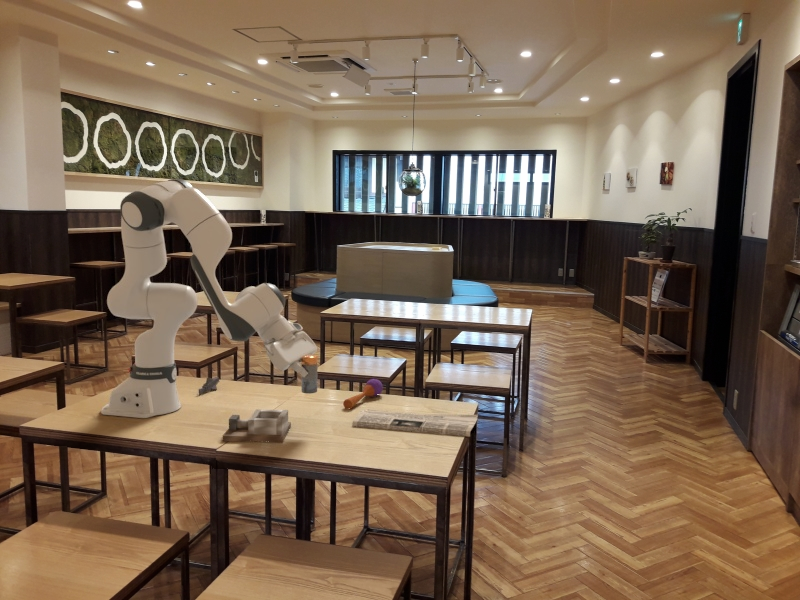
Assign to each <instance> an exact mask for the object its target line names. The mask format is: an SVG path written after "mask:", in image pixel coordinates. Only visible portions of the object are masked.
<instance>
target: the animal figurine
mask: <svg viewBox="0 0 800 600" xmlns="http://www.w3.org/2000/svg"><path fill="white" fill-rule="evenodd" d="M219 383H220V377H218V376H215V377H213V378H211V377H206V381H205V383H203V385H202V386H201V388H198V396H202V395H204V394H205V393H208V392H210V391H218V387H217V385H218V384H219ZM201 394H202V395H201Z"/></svg>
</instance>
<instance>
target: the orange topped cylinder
mask: <svg viewBox="0 0 800 600" xmlns="http://www.w3.org/2000/svg"><path fill="white" fill-rule="evenodd" d="M301 366H302V367H303V368H306V369H307V370H308V371H309V374H308V375H307V376H306V377H302V376H301V393H304V394H307V395H310V394H316V393H317V392H318V369H317V367H318V355H316V354H313V355H305V356H303V357H302V361H301Z"/></svg>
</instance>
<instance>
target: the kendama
mask: <svg viewBox="0 0 800 600" xmlns="http://www.w3.org/2000/svg"><path fill="white" fill-rule="evenodd" d="M383 388H384V385H383V383H382V381H380V380H379V379H376V378H371V379H369V380H368V381H367V382H366V383H365V386H364V387H363V390H362V392H361V393H359V394H356V395H353V396H352V397H348V398H347V399H344V401H343V402H342V403H343V407H344V409H346V408H350V409H349V410H352V409H353V408H354V407H355V405H357V404H358V403H359V402H360V401H361V400H362V399H363V398H364V397H370V398H372V397H373V398H374V396H375V397H378V396H379V395H377V394H380V395H381V394H382V392H383Z"/></svg>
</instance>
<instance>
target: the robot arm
mask: <svg viewBox="0 0 800 600" xmlns="http://www.w3.org/2000/svg"><path fill="white" fill-rule="evenodd" d="M119 209H120V210H119V211H120V215H121V219H120V222H121V223H120V224H121V225H120V226H121V231H120V232H121V239H122V245H123V252H124V260H125V262H124V263H125V268H124V273H123V276H122V277H121V279H120V280H119V282H117V283H116V284H115V285H113V286H112V287H111V289H110V290H109V292H108V294H107V299H106V304H107V307H108V308H107V309H109V311H110V313H111V314H112V315H113V316H115V317H118V318H124V319H127V320H128V319H129V320H152V321H153V327H152V328H151V329H148V330H146V331H144V332H142V333H140V334H139V335H138V336H137V337H136V338H135V342H134V359H135V360H134V361H135V362H134V363H133V364H132V365H131V366H130V367H129V368H127V369H126V370H127V373H129V377H127V378H126V379H125V380H124V381H122V382H121V383H120V384H118V385H116V387H115V388H114V389H112V391H111V393H110V396H109V402H108V403H107V404H105V405H103V406H102V408H101V410H100V414H101V415H104V416H105V415H106V416H118V417H126V418H127V417H128V418H139V419H149V418H152V417H154V416H155V417H156V416H160V415H165V414H170V413H172V412H176V411H178V410H179V409H181V407H182V404H181V401H180V399H179V398H180V397H179V394H178V389H177V384H176V382H177V366H176V365H177V364H176V361H175V342H176V336H177V333H178V330H179V329H180V328H181V326H182V324H184V322H186V321H187V319H189V318H191V317H192V316H193V315H194V314H195V312H196V310H197V308H198V295H197V293H196V291H195V290H194V289H193V287H192V286H189V285H185V284H181V283H175V282H172V283H171V282H152V281H151V277H153V276H156V275H158V274H159V273H161V272H162V271H163V270H164V269H165V268H166V267H167V266H166V265H167V263H168V257H167V256H168V255H167V250H166V243H165V236H164V230H163V226H165V225H169V224H171V223H173V224H175V225H176V226H177V227H178V228H179V229H180V230H181V232H182V233H183V235H184V236H185V238H186V239H187V240H188V242H189V243H190V245H191V250H192V254H191V257H190V259H189V260H190V264H191V268H192V270H193V273H194V275H195V277H196V279H197V281H198V283H199V286H200V287H201V289H202V291H203V293H204V295H205V297H206V299H207V301H208V302H209V305H210V306H211V308H212V310H213V312H214V314H215V316H216V318H217V321H218V323H219V326H220V329H221V331H222V332H223V334H224V335H225V337H227V338H228V339H229V340H230V341H233V342H246V341H248V340H249V339H250V338H251V337H252V336H254V335H255V333H256V332H257V333H256V334H258V336H259V338H260V339H261V340H262V341H263V348H264V350H265V353H266V356H267V358H268V359H269V360H270V362H271V363H272V364H273V366H274V367H275V369H276V370H278V371H280V372H284V371H286V370H288V369H289V368H291V369H292V370H293V371H295V372H296V373H299V374H300V375H301V378H302V377H306V376H307V375H308V374H309V371H308V370H307V369H306V368H303V367H302V364H301V363H302V357H303V356H305V355H316V353H317V352H318V346H317V345H316V343H315V342H314V341H313V339H312V338H311V337H310V336H309V334H307V332H305V331H304V330H303V329H304V328H303V326H302V325H301V324H300V323H297V322H292V321H289V320H287V318H285V317H284V316H283V315H282V314H281V313H282V311H284V309H285V306H286V297H285V295H284V294H283V292H282V291H281V290H280V289H279V288H278V287H277V286H276V285H275V284H272V283H270V282H268V283H267V282H263V283H261V284H259V285H256V286H252V285H251V286H248V287H245V288H243V290H241V291H240V292H239V293H238V294H237V296H236V297H235V300H234V302H232V303H231V302H229V301H228V299H227V297H226V295H225V293H224V291H223V289H222V288H221V286H220V283H219V282H218V279H217V277H216V269H217V268H218V267H217V266H218V265H219V263H220V262H221V260H222V258H224V256H225V255H226V253H227V251H229V249H230V246H231V244H232V240H233V232H232V231H233V230H232V228H231V226H230V224H229V223H228V221H227V220H226V219H225V217H224V215H223V214H222V213H221V212H220V211H219V209H218V208H217V206H215V205H214V203H213V202H212V201H211V200H210V199H209V198H208V197H207V196H206V195H205V194H204V193H202V192H201V191H200V190H199V189H197V188H196V187H193V185H192V184H191V183H190V182H188V181H187V180H185V179H181V178H172V179H168V180H165V181H160V182H155V183H152V184H150V185H149V186H146V187H144V188H141V189H139V190H135V191H133V192H130V193H129V194H127V195H126V196H125V197H123V198H122V200H121V201H120V206H119ZM318 369H319V367H318V366H317V370H318Z"/></svg>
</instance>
